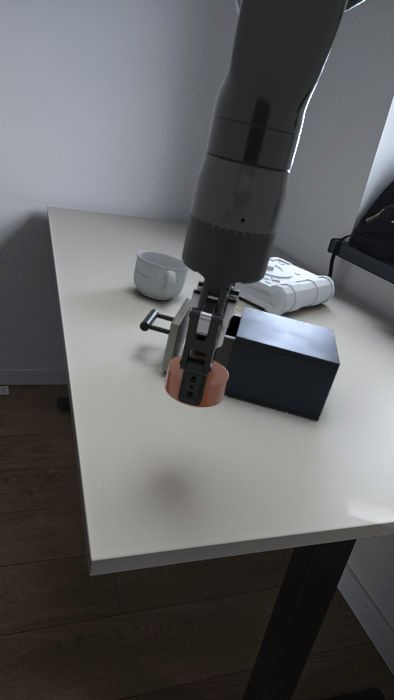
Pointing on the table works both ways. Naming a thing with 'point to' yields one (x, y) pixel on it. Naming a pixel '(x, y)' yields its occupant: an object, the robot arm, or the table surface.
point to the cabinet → (282, 364)
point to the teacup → (159, 274)
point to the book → (287, 288)
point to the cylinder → (212, 388)
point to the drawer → (178, 334)
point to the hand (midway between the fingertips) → (195, 384)
